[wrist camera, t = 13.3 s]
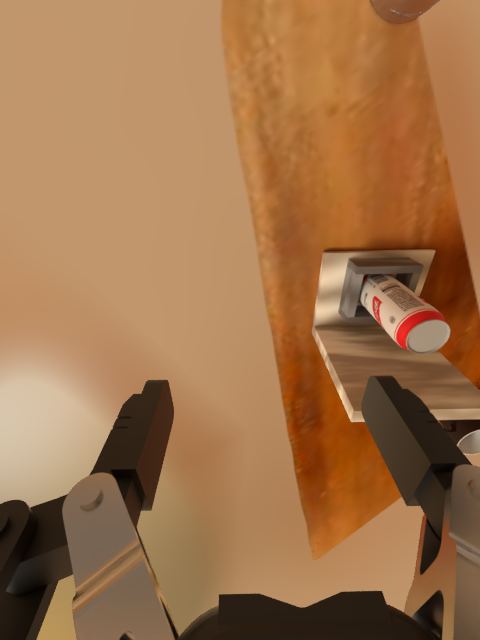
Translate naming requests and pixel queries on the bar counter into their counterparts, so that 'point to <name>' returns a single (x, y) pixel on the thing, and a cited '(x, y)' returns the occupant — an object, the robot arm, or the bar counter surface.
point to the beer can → (403, 314)
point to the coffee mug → (464, 434)
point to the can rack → (381, 336)
